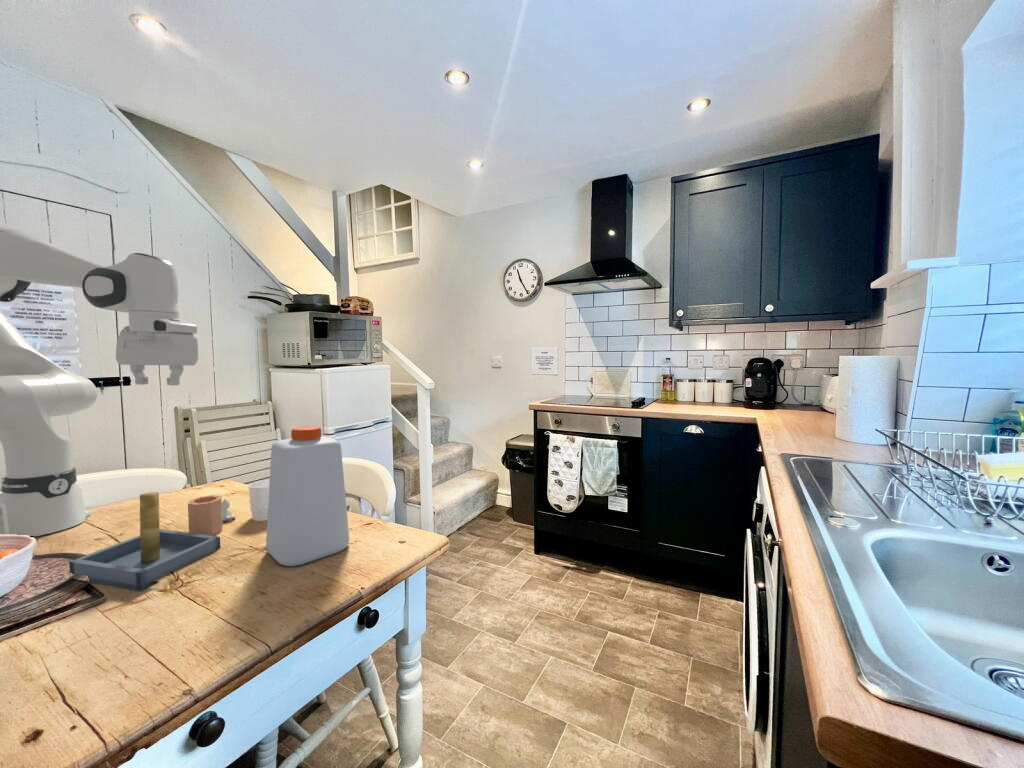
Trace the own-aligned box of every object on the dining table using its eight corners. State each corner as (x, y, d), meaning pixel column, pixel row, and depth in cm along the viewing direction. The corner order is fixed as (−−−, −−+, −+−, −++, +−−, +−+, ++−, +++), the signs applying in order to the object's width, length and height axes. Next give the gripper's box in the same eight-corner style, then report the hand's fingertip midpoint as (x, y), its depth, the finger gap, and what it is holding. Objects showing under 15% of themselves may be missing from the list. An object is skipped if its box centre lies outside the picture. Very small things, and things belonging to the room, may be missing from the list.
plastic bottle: (261, 549, 92) (257, 427, 91) (328, 529, 103) (326, 420, 102) (284, 573, 82) (281, 436, 80) (356, 548, 93) (354, 428, 91)
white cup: (267, 526, 105) (266, 488, 104) (242, 524, 106) (241, 486, 106) (290, 515, 112) (289, 480, 112) (266, 513, 114) (265, 478, 113)
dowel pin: (136, 562, 84) (135, 495, 83) (152, 555, 87) (151, 491, 86) (148, 564, 83) (147, 497, 82) (163, 557, 86) (162, 492, 85)
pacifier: (209, 531, 102) (237, 524, 106) (208, 507, 101) (236, 500, 106) (203, 523, 107) (229, 516, 111) (201, 500, 106) (228, 494, 111)
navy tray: (70, 579, 79) (69, 561, 79) (157, 543, 95) (157, 528, 94) (141, 591, 75) (140, 573, 75) (220, 552, 91) (220, 536, 90)
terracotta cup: (182, 539, 97) (181, 503, 96) (208, 529, 103) (207, 494, 102) (204, 542, 95) (203, 505, 95) (229, 531, 101) (228, 496, 101)
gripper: (105, 324, 93) (107, 384, 94) (175, 323, 89) (177, 386, 89) (135, 327, 99) (138, 383, 100) (203, 326, 95) (205, 385, 96)
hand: (157, 384), depth 95 cm, fingers open, 8 cm apart
